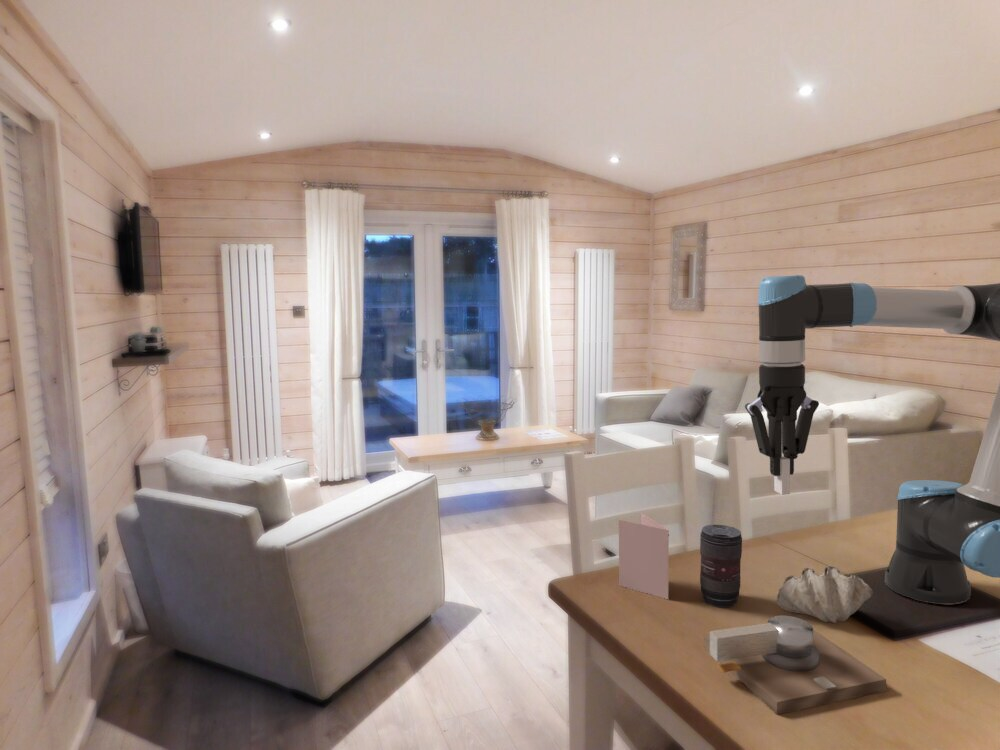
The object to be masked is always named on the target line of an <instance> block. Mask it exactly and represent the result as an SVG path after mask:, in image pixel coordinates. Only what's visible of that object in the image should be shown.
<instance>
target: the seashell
mask: <svg viewBox="0 0 1000 750" xmlns="http://www.w3.org/2000/svg"><path fill="white" fill-rule="evenodd" d="M815 571H816V570H814V569H813V568H809V567H805V568H804V569H803V570H802V572H801V576H800V578H798V577H797V576H794V575H789V576H787V577H785V579H784V582H783V584H782V585H781V587H780V588H779V589H778V593H777V596H776V599H777V600H776V603H777V605H778V607H779V608H781V609H782V610H785V611H786V612H788V613H795V614H803V615H809V616H811V617H815V618H817V619H819V620H821V621H822V622H826V623H828V622H832V623H833V624H836V622H837V621H840V622H845V621H847V620H848V619H849V617H850V616H851V615H854V614H855V613H857V611H858V610H859V608H861V606H862V605H863V604H864V603H865V602H866V601H867V600H869V599H871V597H872V596H873V594H874V593H873V589H872V588H871V587H870V585H869V584H868V583H866V582H865V581H864V580H863V578H860V577H859V576H858V575H856V574H851V575H850V576H846V575H843V574H842V572H841V569H839V568H838V567H835V566H833V565H828V566H826V567H825V568H824V571H823V574H818V573H816V572H815Z"/></svg>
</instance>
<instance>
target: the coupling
mask: <svg viewBox="0 0 1000 750" xmlns="http://www.w3.org/2000/svg"><path fill="white" fill-rule="evenodd" d="M813 629H814V627H813V625H812V624H810V623H809V622H808V621H806V620H804V619H802V618H799V617H795V616H791V615H775V616H771V617H770V618H768V620H767V623H759V624H752V625H745V626H739V627H736V626H735V627H729V628H724V629H715V630H710V631H709V636H710V652H709V655H710V656H711V657H712V658H713V659H714V660H715V661H716V662H719V661H725V660H732V659H738V658H745V657H752V656H759V655H765V654H772V653H778V654H780V655H783V656H787V657H792V658H803V657H807V656H809V655H811V654H812V651H813Z"/></svg>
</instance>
